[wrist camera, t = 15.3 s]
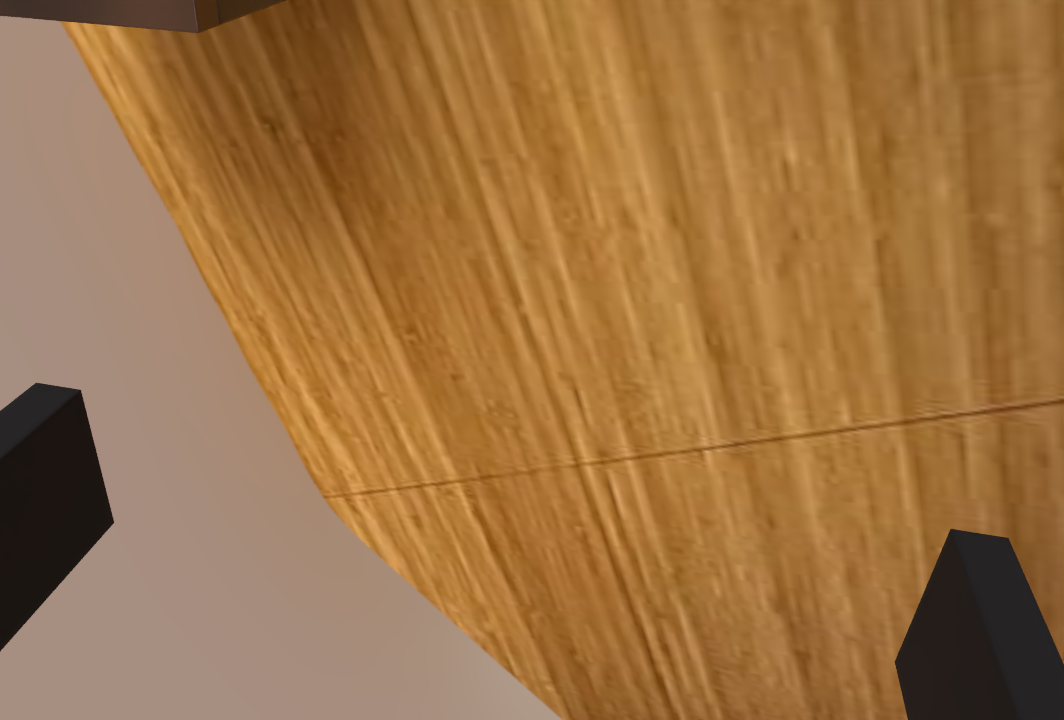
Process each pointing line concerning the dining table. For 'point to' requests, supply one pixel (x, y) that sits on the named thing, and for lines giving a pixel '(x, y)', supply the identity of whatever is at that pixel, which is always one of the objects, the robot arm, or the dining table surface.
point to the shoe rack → (138, 12)
